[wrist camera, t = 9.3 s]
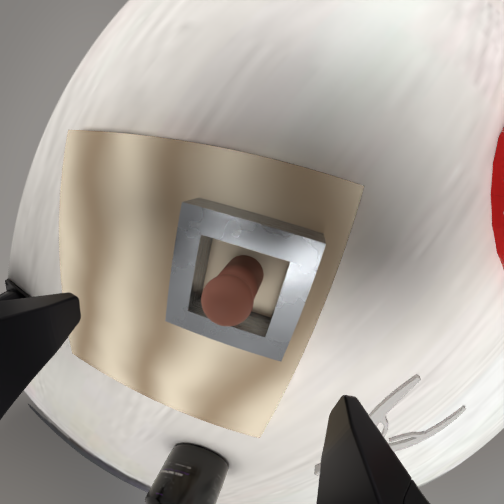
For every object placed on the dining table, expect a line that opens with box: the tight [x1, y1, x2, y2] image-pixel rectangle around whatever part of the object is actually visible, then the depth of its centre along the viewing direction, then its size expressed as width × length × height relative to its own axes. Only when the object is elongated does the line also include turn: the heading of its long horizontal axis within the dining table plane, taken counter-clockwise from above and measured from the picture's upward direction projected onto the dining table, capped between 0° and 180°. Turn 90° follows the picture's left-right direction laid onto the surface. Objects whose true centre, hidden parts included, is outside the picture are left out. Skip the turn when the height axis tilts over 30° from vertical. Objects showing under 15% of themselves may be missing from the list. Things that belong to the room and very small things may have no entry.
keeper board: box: [59, 130, 364, 438], centre depth 15 cm, size 19×20×6 cm
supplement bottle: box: [145, 444, 228, 504], centre depth 18 cm, size 7×7×12 cm
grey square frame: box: [165, 198, 326, 362], centre depth 13 cm, size 6×6×2 cm
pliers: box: [314, 374, 466, 476], centre depth 18 cm, size 10×2×15 cm
